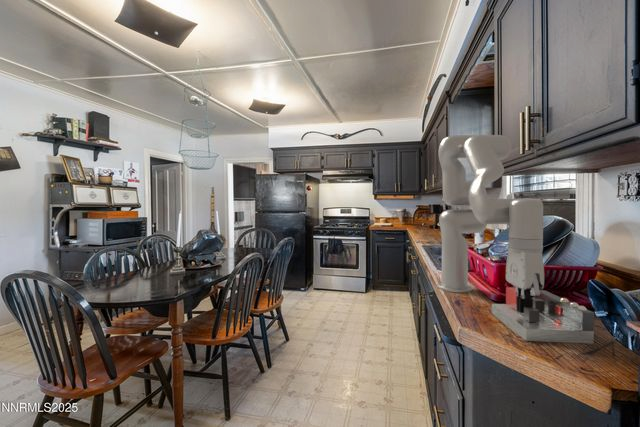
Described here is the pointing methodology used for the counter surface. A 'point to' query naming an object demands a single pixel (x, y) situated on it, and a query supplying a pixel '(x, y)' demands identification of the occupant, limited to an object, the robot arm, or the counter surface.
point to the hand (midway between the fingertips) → (524, 311)
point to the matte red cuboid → (511, 295)
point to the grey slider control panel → (550, 321)
